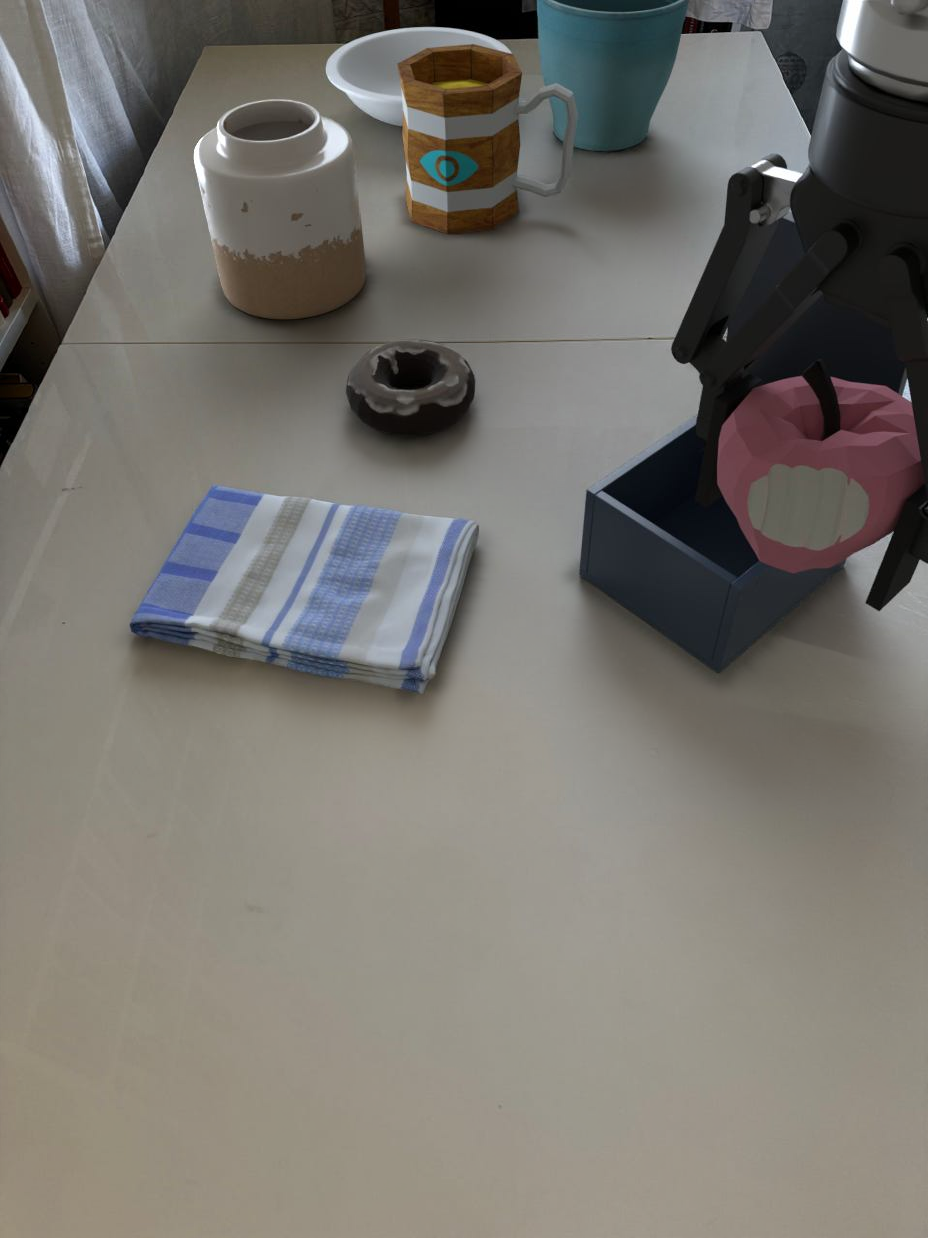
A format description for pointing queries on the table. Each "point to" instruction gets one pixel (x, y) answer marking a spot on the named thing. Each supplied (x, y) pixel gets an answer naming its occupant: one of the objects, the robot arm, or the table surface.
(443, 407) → the donut
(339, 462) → the table surface
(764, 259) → the lid
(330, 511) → the dish towel
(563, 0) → the flower pot
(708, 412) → the robot arm
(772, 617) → the blue storage box
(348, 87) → the soup bowl
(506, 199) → the mug
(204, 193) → the vase
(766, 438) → the apple
